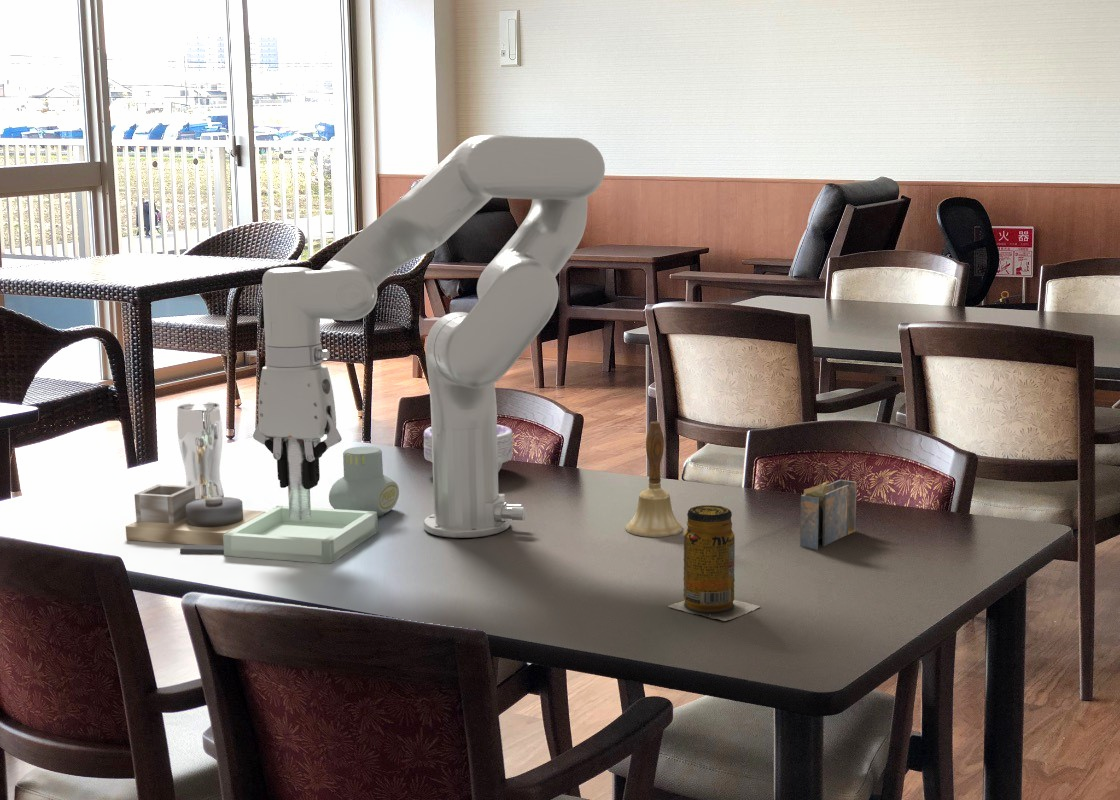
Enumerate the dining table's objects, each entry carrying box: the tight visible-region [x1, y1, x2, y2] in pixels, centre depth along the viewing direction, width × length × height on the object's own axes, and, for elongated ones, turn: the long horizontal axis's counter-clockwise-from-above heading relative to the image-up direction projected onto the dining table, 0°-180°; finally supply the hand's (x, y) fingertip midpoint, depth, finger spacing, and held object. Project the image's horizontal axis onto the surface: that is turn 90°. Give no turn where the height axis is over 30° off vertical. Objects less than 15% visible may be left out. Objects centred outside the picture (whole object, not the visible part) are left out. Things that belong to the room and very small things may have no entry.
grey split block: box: [799, 479, 857, 550], centre depth 189 cm, size 11×3×10 cm, turn 141°
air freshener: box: [328, 446, 400, 518], centre depth 206 cm, size 11×8×10 cm
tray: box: [223, 505, 379, 564], centre depth 191 cm, size 16×16×3 cm
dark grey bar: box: [179, 544, 224, 555], centre depth 188 cm, size 14×2×1 cm, turn 84°
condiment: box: [667, 504, 761, 622], centre depth 161 cm, size 7×8×12 cm
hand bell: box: [625, 420, 684, 538], centre depth 195 cm, size 8×8×16 cm
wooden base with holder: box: [125, 484, 267, 545], centre depth 198 cm, size 16×12×6 cm
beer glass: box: [176, 401, 225, 500], centre depth 218 cm, size 7×7×15 cm
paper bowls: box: [423, 423, 514, 473], centre depth 231 cm, size 15×15×8 cm
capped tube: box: [286, 435, 312, 520], centre depth 190 cm, size 4×4×13 cm
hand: (299, 485), depth 190 cm, fingers closed on capped tube, 3 cm apart
